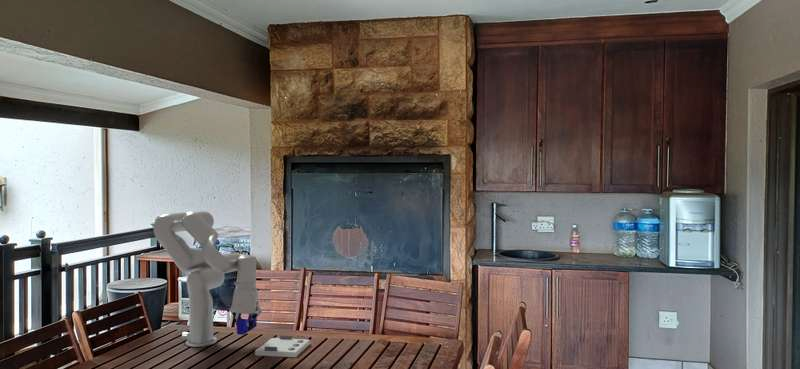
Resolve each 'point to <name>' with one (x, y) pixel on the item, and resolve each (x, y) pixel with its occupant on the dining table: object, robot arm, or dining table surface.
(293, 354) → the white square board
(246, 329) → the cable clip
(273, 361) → the dining table surface
